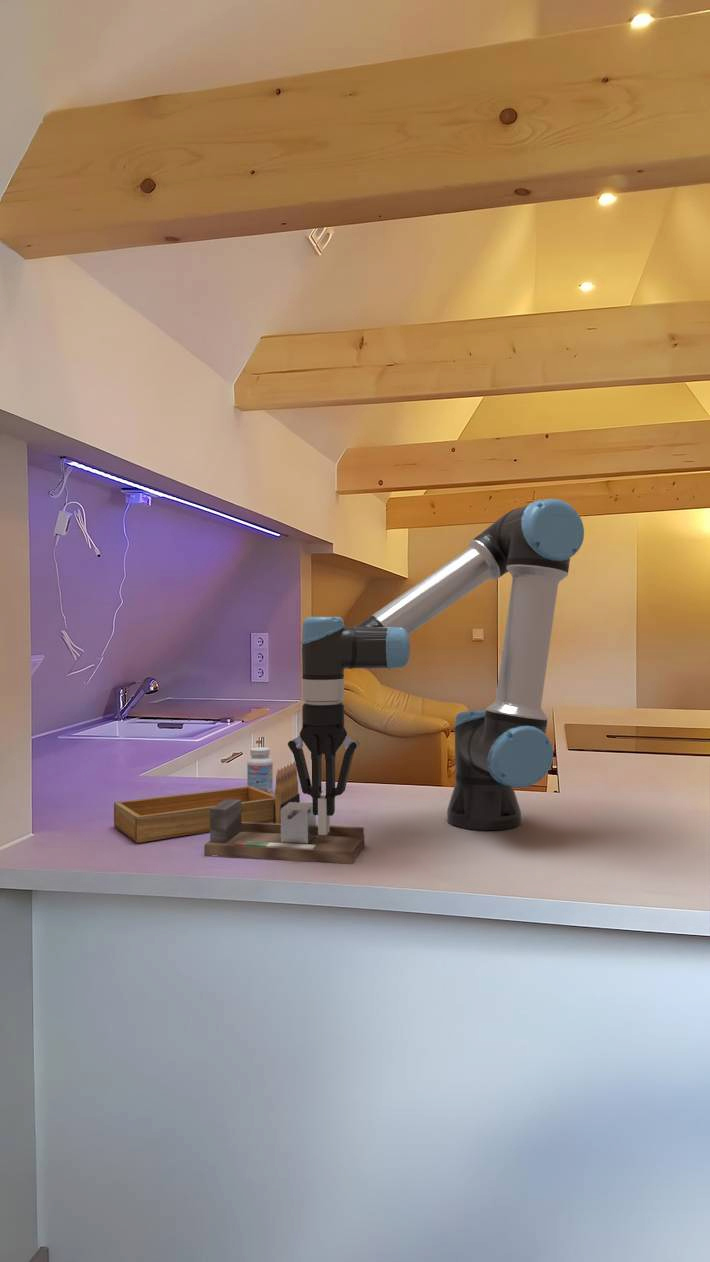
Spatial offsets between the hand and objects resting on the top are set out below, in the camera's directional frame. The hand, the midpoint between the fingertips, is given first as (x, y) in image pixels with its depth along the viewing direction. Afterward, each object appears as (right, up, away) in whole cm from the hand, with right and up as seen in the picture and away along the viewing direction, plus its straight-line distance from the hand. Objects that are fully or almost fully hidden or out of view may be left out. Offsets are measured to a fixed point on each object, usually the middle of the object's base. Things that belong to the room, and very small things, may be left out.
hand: (323, 833), depth 140 cm
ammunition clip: (-8, -4, +21) cm, 23 cm away
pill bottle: (-17, -3, +48) cm, 51 cm away
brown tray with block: (-7, -4, +2) cm, 8 cm away
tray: (-27, -4, +21) cm, 34 cm away
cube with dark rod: (-5, -1, 0) cm, 5 cm away
